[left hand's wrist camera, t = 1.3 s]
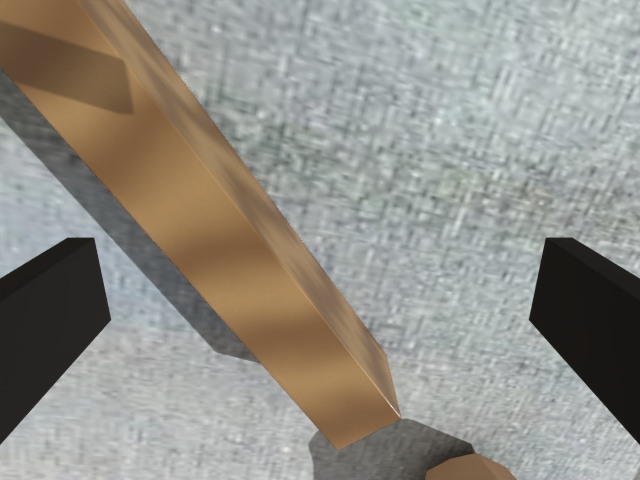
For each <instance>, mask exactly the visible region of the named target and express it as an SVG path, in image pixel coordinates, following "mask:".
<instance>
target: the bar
mask: <svg viewBox="0 0 640 480" xmlns="http://www.w3.org/2000/svg"><path fill="white" fill-rule="evenodd" d="M0 67H1V68H2V69H3V71H4V72H5V73H6V74H7V75H8V76H9V77H10V79H11V80H12V81H13V82H14V83H15V84H16V85H17V87H18V88H19V89H20V90H21V91H22V92H23V93H24V95H25V96H26V97H27V98H28V99H29V100H30V101H31V102H32V104H33V105H34V106H35V107H36V108H37V109H38V110H39V112H40V113H41V114H42V115H43V116H44V117H45V118H46V120H47V121H48V122H49V123H50V124H51V125H52V126H53V127H54V129H55V130H56V131H57V132H58V133H59V134H60V135H61V137H62V138H63V139H64V140H65V141H66V142H67V143H68V145H69V146H70V147H71V148H72V149H73V150H74V151H75V153H76V154H77V155H78V156H79V157H80V158H81V159H82V160H83V162H84V163H85V164H86V165H87V166H88V167H89V168H90V170H91V171H92V172H93V173H94V174H95V175H96V176H97V178H98V179H99V180H100V181H101V182H102V183H103V184H104V186H105V187H106V188H107V189H108V190H109V191H110V192H111V193H112V195H113V196H114V197H115V198H116V199H117V200H118V201H119V203H120V204H121V205H122V206H123V207H124V208H125V209H126V211H127V212H128V213H129V214H130V215H131V216H132V217H133V218H134V220H135V221H136V222H137V223H138V224H139V225H140V226H141V228H142V229H143V230H144V231H145V232H146V233H147V234H148V236H149V237H150V238H151V239H152V240H153V241H154V242H155V244H156V245H157V246H158V247H159V248H160V249H161V250H162V251H163V253H164V254H165V255H166V256H167V257H168V258H169V259H170V261H171V262H172V263H173V264H174V265H175V266H176V267H177V269H178V270H179V271H180V272H181V273H182V274H183V275H184V277H185V278H186V279H187V280H188V281H189V282H190V283H191V284H192V286H193V287H194V288H195V289H196V290H197V291H198V292H199V294H200V295H201V296H202V297H203V298H204V299H205V300H206V302H207V303H208V304H209V305H210V306H211V307H212V308H213V309H214V311H215V312H216V313H217V314H218V315H219V316H220V317H221V319H222V320H223V321H224V322H225V323H226V324H227V325H228V327H229V328H230V329H231V330H232V331H233V332H234V333H235V335H236V336H237V337H238V338H239V339H240V340H241V341H242V342H243V344H244V345H245V346H246V347H247V348H248V349H249V350H250V352H251V353H252V354H253V355H254V356H255V357H256V358H257V360H258V361H259V362H260V363H261V364H262V365H263V366H264V367H265V369H266V370H267V371H268V372H269V373H270V374H271V375H272V377H273V378H274V379H275V380H276V381H277V382H278V383H279V385H280V386H281V387H282V388H283V389H284V390H285V391H286V393H287V394H288V395H289V396H290V397H291V398H292V399H293V400H294V402H295V403H296V404H297V405H298V406H299V407H300V408H301V410H302V411H303V412H304V413H305V414H306V415H307V416H308V418H309V419H310V420H311V421H312V422H313V423H314V424H315V426H316V427H317V428H318V429H319V430H320V431H321V432H322V433H323V435H324V436H325V437H326V438H327V439H328V440H329V441H330V443H331V444H332V445H333V446H334V447H335V448H336V449H337V450H340V449H342V448H344V447H346V446H348V445H350V444H352V443H354V442H356V441H357V440H359V439H361V438H363V437H365V436H367V435H369V434H371V433H373V432H375V431H377V430H379V429H381V428H383V427H385V426H387V425H389V424H391V423H393V422H395V421H397V420H399V419H401V414H400V410H399V406H398V402H397V397H396V393H395V389H394V385H393V381H392V376H391V372H390V368H389V364H388V360H387V355H386V353H385V352H384V351H383V349H382V348H381V347H380V345H379V344H378V343H377V341H376V340H375V339H374V337H373V336H372V334H371V333H370V332H369V330H368V329H367V328H366V326H365V325H364V324H363V322H362V321H361V320H360V318H359V317H358V316H357V314H356V313H355V312H354V310H353V309H352V308H351V306H350V305H349V304H348V302H347V301H346V300H345V298H344V297H343V295H342V294H341V293H340V291H339V290H338V289H337V287H336V286H335V285H334V283H333V282H332V281H331V279H330V278H329V277H328V275H327V274H326V273H325V271H324V270H323V269H322V267H321V266H320V265H319V263H318V262H317V261H316V259H315V258H314V256H313V255H312V254H311V252H310V251H309V250H308V248H307V247H306V246H305V244H304V243H303V242H302V240H301V239H300V238H299V236H298V235H297V234H296V232H295V231H294V230H293V228H292V227H291V226H290V224H289V223H288V222H287V220H286V219H285V217H284V216H283V215H282V213H281V212H280V211H279V209H278V208H277V207H276V205H275V204H274V203H273V201H272V200H271V199H270V197H269V196H268V195H267V193H266V192H265V191H264V189H263V188H262V187H261V185H260V184H259V182H258V181H257V180H256V178H255V177H254V176H253V174H252V173H251V172H250V170H249V169H248V168H247V166H246V165H245V164H244V162H243V161H242V160H241V158H240V157H239V156H238V154H237V153H236V152H235V150H234V149H233V148H232V146H231V145H230V143H229V142H228V141H227V139H226V138H225V137H224V135H223V134H222V133H221V131H220V130H219V129H218V127H217V126H216V125H215V123H214V122H213V121H212V119H211V118H210V117H209V115H208V114H207V113H206V111H205V110H204V109H203V107H202V106H201V104H200V103H199V102H198V100H197V99H196V98H195V96H194V95H193V94H192V92H191V91H190V90H189V88H188V87H187V86H186V84H185V83H184V82H183V80H182V79H181V78H180V76H179V75H178V74H177V72H176V71H175V70H174V68H173V67H172V65H171V64H170V63H169V61H168V60H167V59H166V57H165V56H164V55H163V53H162V52H161V51H160V49H159V48H158V47H157V45H156V44H155V43H154V41H153V40H152V39H151V37H150V36H149V35H148V33H147V32H146V31H145V29H144V28H143V26H142V25H141V24H140V22H139V21H138V20H137V18H136V17H135V16H134V14H133V13H132V12H131V10H130V9H129V8H128V6H127V5H126V4H125V2H124V1H123V0H0Z"/></svg>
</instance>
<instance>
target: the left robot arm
mask: <svg viewBox="0 0 640 480" xmlns="http://www.w3.org/2000/svg"><path fill="white" fill-rule="evenodd" d="M110 321H111V317H110V312H109V307H108V302H107V297H106V293H105V288H104V283H103V278H102V273H101V268H100V264H99V259H98V254H97V249H96V244H95V240H94V238H66V239H65V240H63V241H61V242H60V243H58V244H56V245H55V246H53V247H51V248H50V249H48V250H47V251H45V252H43V253H42V254H40V255H38V256H37V257H35V258H33V259H32V260H30V261H28V262H27V263H25V264H23V265H22V266H20V267H18V268H17V269H15V270H14V271H12V272H10V273H9V274H7V275H5V276H4V277H2V278H0V444H1V443H2V442H3V441H4V440H5V439H6V438H7V437H8V435H9V434H10V433H11V432H12V431H13V430H14V429H15V428H16V426H17V425H18V424H19V423H20V422H21V421H22V420H23V419H24V417H25V416H26V415H27V414H28V413H29V412H30V411H31V410H32V408H33V407H34V406H35V405H36V404H37V403H38V402H39V401H40V399H41V398H42V397H43V396H44V395H45V394H46V393H47V392H48V390H49V389H50V388H51V387H52V386H53V385H54V384H55V383H56V381H57V380H58V379H59V378H60V377H61V376H62V375H63V374H64V372H65V371H66V370H67V369H68V368H69V367H70V366H71V365H72V363H73V362H74V361H75V360H76V359H77V358H78V357H79V356H80V354H81V353H82V352H83V351H84V350H85V349H86V348H87V347H88V345H89V344H90V343H91V342H92V341H93V340H94V339H95V338H96V336H97V335H98V334H99V333H100V332H101V331H102V330H103V329H104V327H105V326H106V325H107V324H108V323H109V322H110ZM529 321H530V322H531V323H532V324H533V325H534V326H535V327H536V329H537V330H538V331H539V332H540V333H541V334H542V335H543V336H544V338H545V339H546V340H547V341H548V342H549V343H550V344H551V345H552V347H553V348H554V349H555V350H556V351H557V352H558V353H559V354H560V356H561V357H562V358H563V359H564V360H565V361H566V362H567V363H568V365H569V366H570V367H571V368H572V369H573V370H574V371H575V372H576V374H577V375H578V376H579V377H580V378H581V379H582V380H583V381H584V383H585V384H586V385H587V386H588V387H589V388H590V389H591V390H592V392H593V393H594V394H595V395H596V396H597V397H598V398H599V399H600V401H601V402H602V403H603V404H604V405H605V406H606V407H607V408H608V410H609V411H610V412H611V413H612V414H613V415H614V416H615V417H616V419H617V420H618V421H619V422H620V423H621V424H622V425H623V426H624V428H625V429H626V430H627V431H628V432H629V433H630V434H631V435H632V437H633V438H634V439H635V440H636V441H637V442H638V443H639V444H640V278H638V277H636V276H635V275H633V274H631V273H630V272H628V271H626V270H625V269H623V268H622V267H620V266H618V265H617V264H615V263H613V262H612V261H610V260H608V259H607V258H605V257H603V256H602V255H600V254H598V253H597V252H595V251H593V250H592V249H590V248H589V247H587V246H585V245H584V244H582V243H580V242H579V241H577V240H575V239H574V238H546V240H545V244H544V249H543V254H542V259H541V264H540V268H539V273H538V278H537V283H536V288H535V293H534V297H533V302H532V307H531V312H530V317H529Z"/></svg>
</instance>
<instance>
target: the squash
mask: <svg viewBox="0 0 640 480" xmlns="http://www.w3.org/2000/svg"><path fill="white" fill-rule="evenodd" d="M425 480H517V479H516V478H515V477H514V476H513V475H512V474H511V473H510V472H509V471H508V469H507V468H506V467H504V466H502V465H500V464H498V463H496V462H494V461H492V460H490V459H488V458H485V457H483V456H481V455H479V454H477V453H474V454H469V455H465V456H460V457H456V458H451V459H449V460H447V461H445V462H443V463H441V464H439V465H437V466H436V467H434V468H432V469H430V470H428V471H427V472H426V477H425Z"/></svg>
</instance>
